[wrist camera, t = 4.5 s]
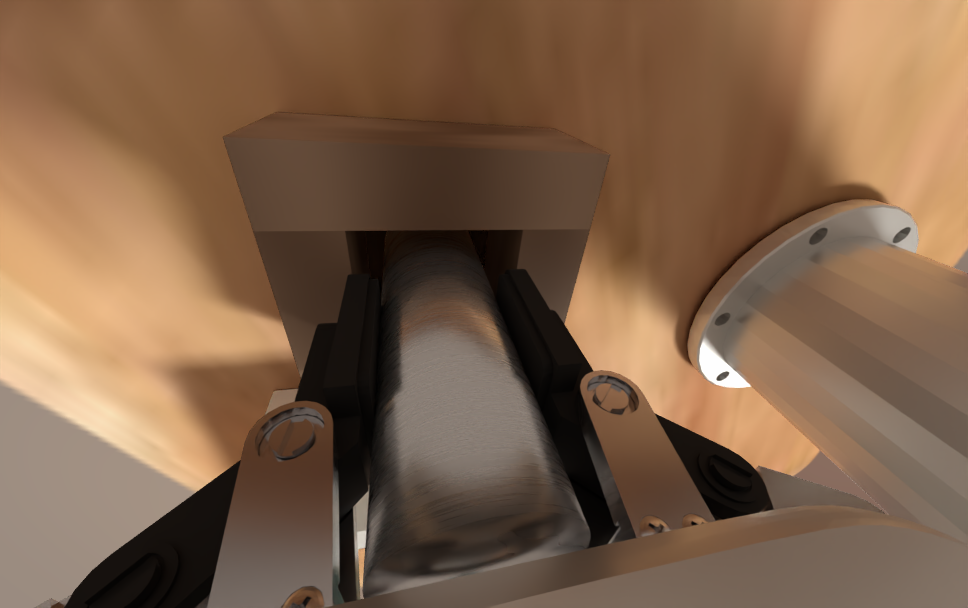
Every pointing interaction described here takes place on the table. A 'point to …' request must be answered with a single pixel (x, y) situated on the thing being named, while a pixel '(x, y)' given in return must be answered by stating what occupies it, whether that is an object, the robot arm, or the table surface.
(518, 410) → the steel peg
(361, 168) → the socket block
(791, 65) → the table surface
